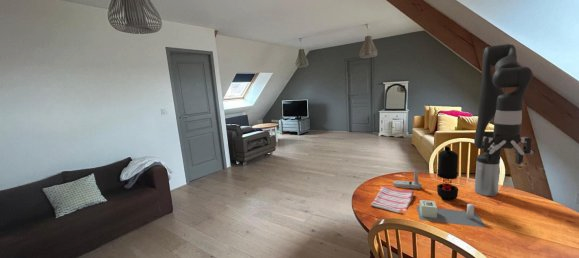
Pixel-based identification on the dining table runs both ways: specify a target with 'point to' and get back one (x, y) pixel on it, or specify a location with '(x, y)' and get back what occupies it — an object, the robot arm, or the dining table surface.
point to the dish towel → (393, 199)
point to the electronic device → (408, 183)
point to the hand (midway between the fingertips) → (503, 163)
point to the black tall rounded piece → (447, 173)
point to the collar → (428, 209)
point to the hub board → (455, 216)
